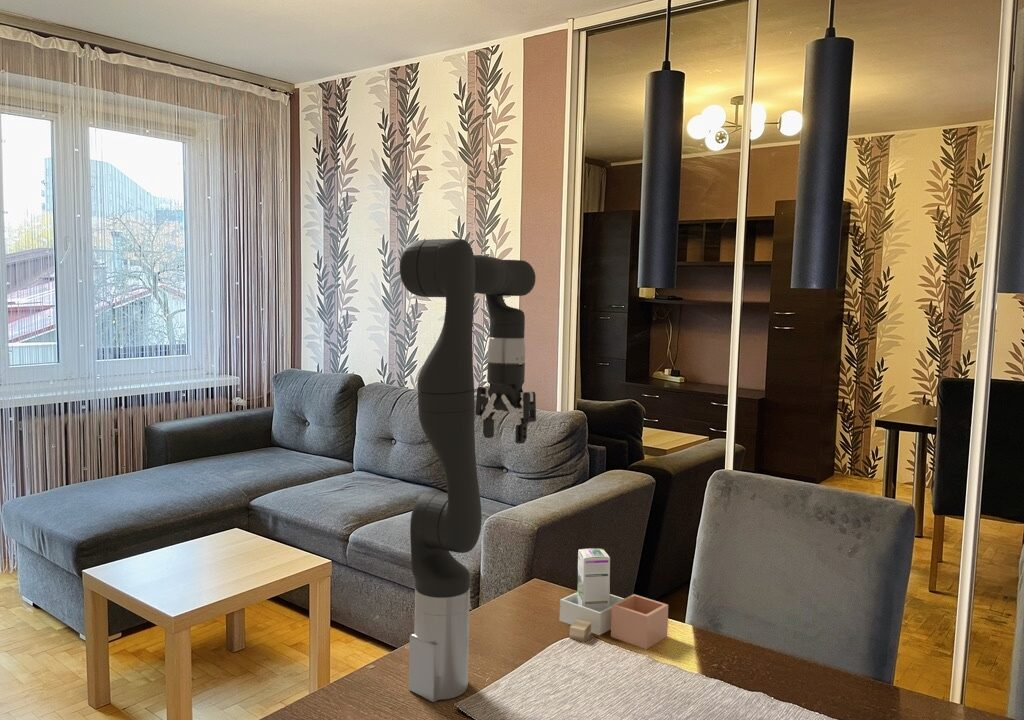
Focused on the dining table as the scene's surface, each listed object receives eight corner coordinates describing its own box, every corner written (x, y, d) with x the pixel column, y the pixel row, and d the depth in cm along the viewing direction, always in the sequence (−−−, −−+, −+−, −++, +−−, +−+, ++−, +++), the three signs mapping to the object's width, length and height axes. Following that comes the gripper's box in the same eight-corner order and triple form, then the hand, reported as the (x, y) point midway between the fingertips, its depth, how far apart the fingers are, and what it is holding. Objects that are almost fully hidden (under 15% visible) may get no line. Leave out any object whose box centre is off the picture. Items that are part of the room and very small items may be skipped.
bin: (599, 638, 147) (600, 613, 146) (559, 623, 153) (560, 599, 153) (626, 623, 154) (627, 599, 154) (587, 609, 161) (588, 587, 161)
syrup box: (609, 626, 151) (612, 556, 150) (581, 627, 150) (583, 557, 150) (602, 615, 157) (604, 547, 156) (575, 615, 156) (577, 548, 155)
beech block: (583, 645, 144) (584, 630, 144) (569, 642, 145) (569, 627, 145) (590, 637, 147) (591, 622, 147) (576, 634, 149) (577, 619, 148)
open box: (645, 652, 141) (647, 616, 141) (610, 639, 146) (611, 604, 146) (667, 639, 147) (668, 604, 147) (632, 627, 152) (633, 594, 152)
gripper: (467, 358, 151) (466, 437, 152) (521, 363, 141) (518, 447, 142) (493, 357, 156) (491, 434, 157) (545, 362, 147) (543, 443, 148)
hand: (504, 440), depth 150 cm, fingers open, 8 cm apart
